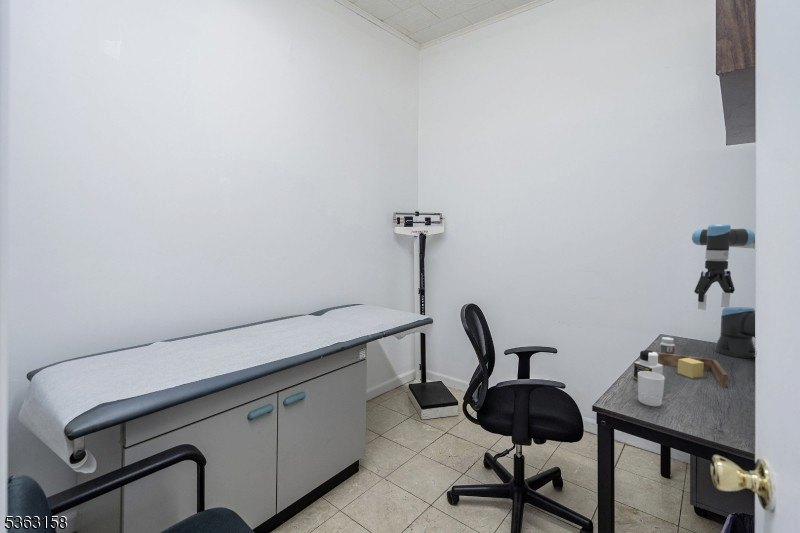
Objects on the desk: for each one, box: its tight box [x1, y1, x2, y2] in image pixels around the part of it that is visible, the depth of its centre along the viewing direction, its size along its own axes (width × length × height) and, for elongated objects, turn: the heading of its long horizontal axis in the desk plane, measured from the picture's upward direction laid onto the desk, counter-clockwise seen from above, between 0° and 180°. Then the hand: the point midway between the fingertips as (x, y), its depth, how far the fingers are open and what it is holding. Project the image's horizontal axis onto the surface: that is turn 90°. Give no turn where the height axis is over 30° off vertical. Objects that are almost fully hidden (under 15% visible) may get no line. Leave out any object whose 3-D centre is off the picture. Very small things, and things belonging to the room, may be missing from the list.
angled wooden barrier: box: [655, 351, 729, 388], centre depth 155 cm, size 22×20×5 cm
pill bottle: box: [659, 336, 676, 355], centre depth 174 cm, size 6×6×10 cm
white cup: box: [637, 371, 666, 407], centre depth 129 cm, size 8×8×10 cm
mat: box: [674, 371, 706, 380], centre depth 154 cm, size 10×10×1 cm
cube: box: [676, 358, 704, 379], centre depth 154 cm, size 6×6×6 cm
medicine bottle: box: [633, 349, 664, 381], centre depth 148 cm, size 7×7×12 cm
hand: (713, 308), depth 160 cm, fingers open, 13 cm apart
